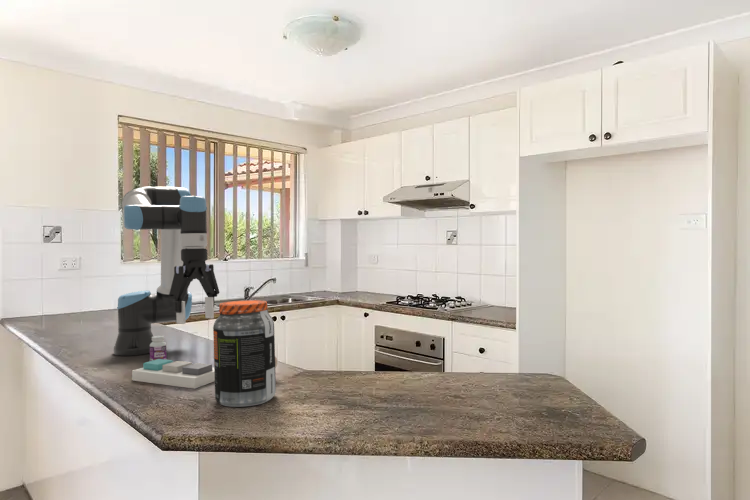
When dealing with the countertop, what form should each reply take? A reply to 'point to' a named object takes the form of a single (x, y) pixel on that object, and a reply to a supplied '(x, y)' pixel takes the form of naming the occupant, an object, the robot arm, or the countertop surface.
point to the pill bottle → (158, 348)
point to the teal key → (156, 364)
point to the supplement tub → (244, 354)
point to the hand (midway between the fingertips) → (195, 320)
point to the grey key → (175, 366)
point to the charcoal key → (197, 369)
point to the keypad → (173, 378)
